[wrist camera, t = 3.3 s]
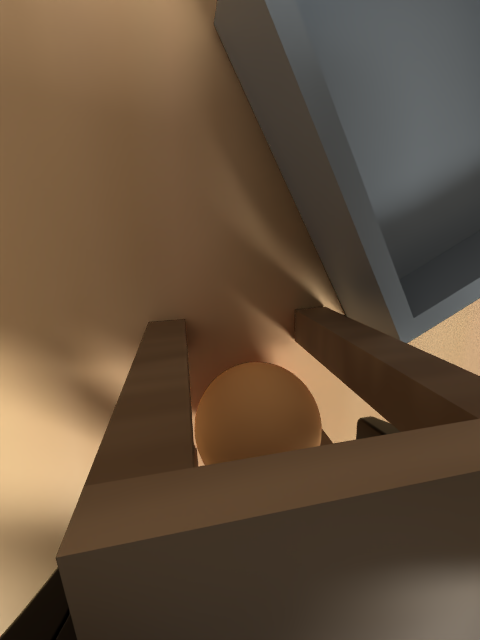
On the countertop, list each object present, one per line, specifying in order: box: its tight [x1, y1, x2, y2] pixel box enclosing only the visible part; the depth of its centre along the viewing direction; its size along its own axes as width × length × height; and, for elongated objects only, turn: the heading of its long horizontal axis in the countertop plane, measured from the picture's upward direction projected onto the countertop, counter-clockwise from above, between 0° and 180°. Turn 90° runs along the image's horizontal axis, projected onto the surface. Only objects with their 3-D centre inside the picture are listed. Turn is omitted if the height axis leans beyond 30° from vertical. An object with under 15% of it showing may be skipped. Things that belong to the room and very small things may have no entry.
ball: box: [195, 362, 322, 465], centre depth 10 cm, size 4×4×4 cm
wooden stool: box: [56, 307, 480, 640], centre depth 8 cm, size 6×6×8 cm
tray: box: [214, 0, 480, 343], centre depth 9 cm, size 10×10×3 cm
